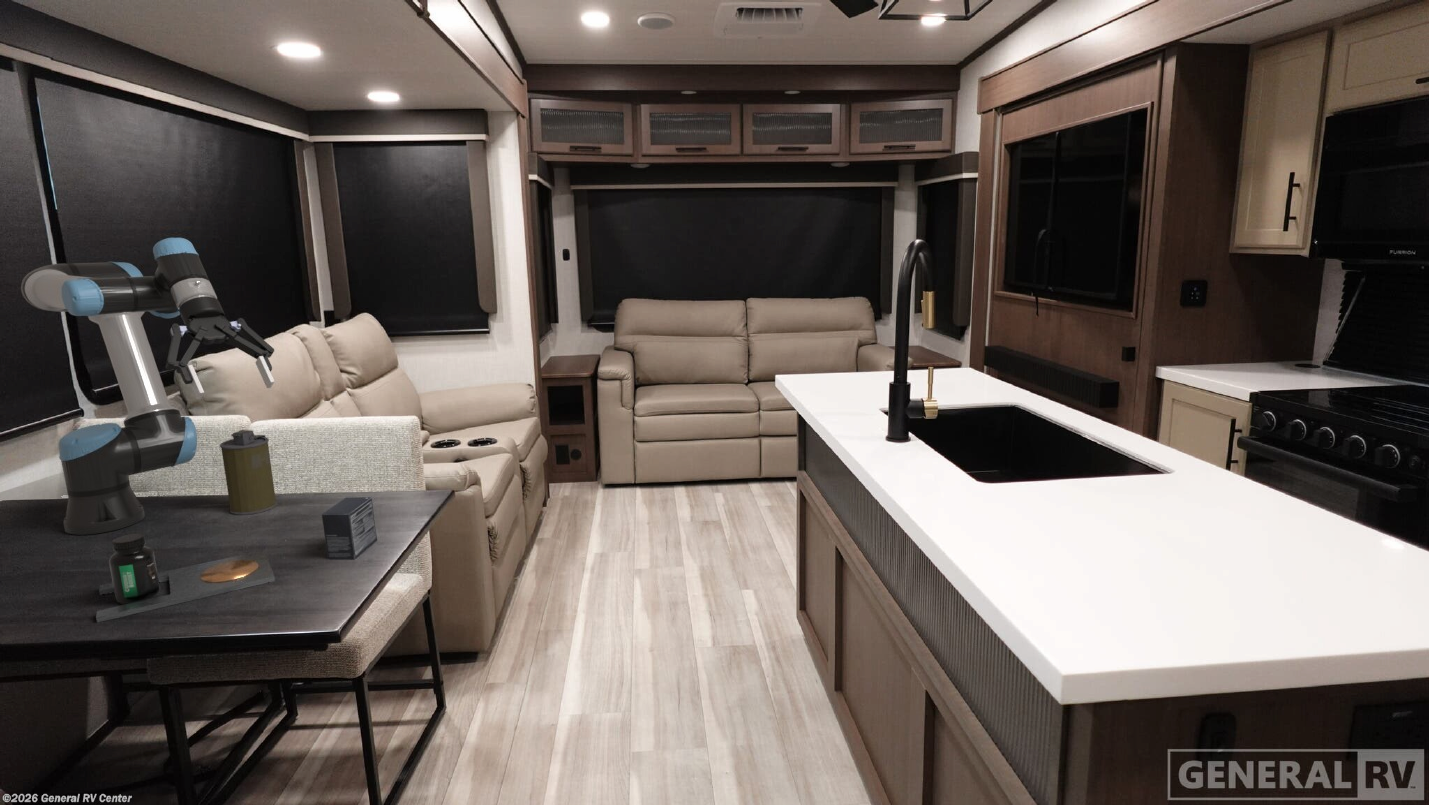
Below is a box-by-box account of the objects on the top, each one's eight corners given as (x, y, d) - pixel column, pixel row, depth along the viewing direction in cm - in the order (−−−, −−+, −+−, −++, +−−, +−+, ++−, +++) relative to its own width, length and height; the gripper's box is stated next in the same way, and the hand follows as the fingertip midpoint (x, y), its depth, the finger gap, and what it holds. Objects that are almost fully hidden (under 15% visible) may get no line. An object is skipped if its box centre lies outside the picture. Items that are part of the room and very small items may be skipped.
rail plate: (97, 622, 136) (95, 616, 136) (100, 589, 149) (99, 584, 149) (275, 581, 153) (274, 575, 152) (264, 554, 165) (264, 549, 165)
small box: (349, 540, 173) (345, 496, 171) (378, 540, 173) (373, 496, 171) (325, 559, 163) (319, 513, 160) (355, 560, 162) (350, 513, 160)
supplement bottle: (137, 606, 142) (126, 546, 140) (106, 603, 144) (95, 543, 141) (169, 590, 149) (159, 532, 146) (140, 587, 150) (130, 529, 148)
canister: (255, 516, 187) (244, 437, 183) (219, 513, 189) (207, 435, 185) (288, 501, 198) (278, 426, 193) (253, 498, 200) (242, 424, 195)
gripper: (132, 299, 150) (172, 391, 147) (265, 290, 170) (303, 372, 167) (124, 319, 155) (163, 410, 151) (255, 309, 174) (291, 389, 171)
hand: (236, 390), depth 159 cm, fingers open, 13 cm apart
